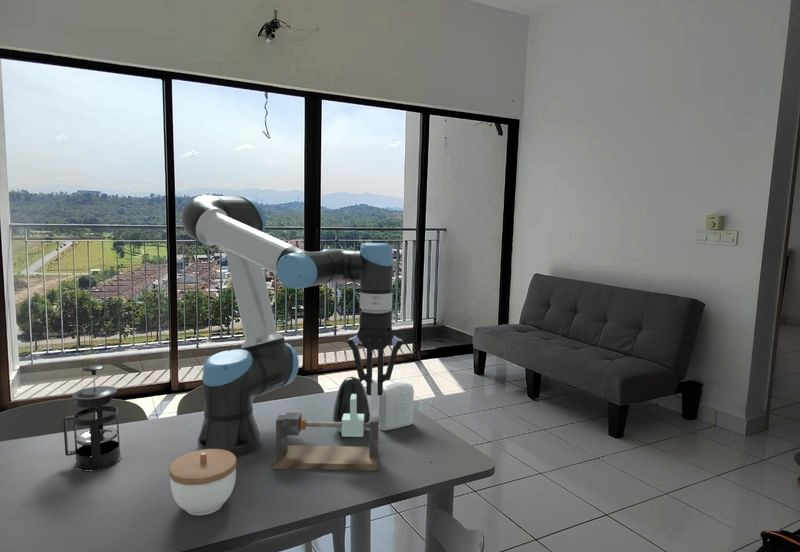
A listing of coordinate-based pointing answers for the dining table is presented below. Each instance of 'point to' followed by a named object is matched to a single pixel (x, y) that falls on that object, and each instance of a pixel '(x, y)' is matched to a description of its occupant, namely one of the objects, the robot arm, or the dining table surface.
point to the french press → (94, 427)
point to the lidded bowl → (203, 480)
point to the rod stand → (322, 447)
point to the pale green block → (353, 420)
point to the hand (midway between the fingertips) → (374, 407)
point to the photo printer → (396, 406)
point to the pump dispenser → (343, 400)
